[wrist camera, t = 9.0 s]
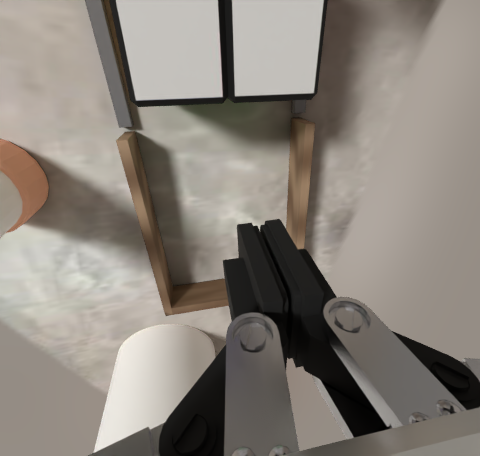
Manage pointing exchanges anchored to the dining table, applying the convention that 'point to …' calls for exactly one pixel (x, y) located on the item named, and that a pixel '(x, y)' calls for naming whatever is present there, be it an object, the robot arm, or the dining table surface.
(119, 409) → the canister
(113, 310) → the dining table surface
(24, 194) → the pepper shaker
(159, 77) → the puzzle cube
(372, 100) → the dining table surface
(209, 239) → the dining table surface
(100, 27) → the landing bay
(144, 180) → the wooden frame
